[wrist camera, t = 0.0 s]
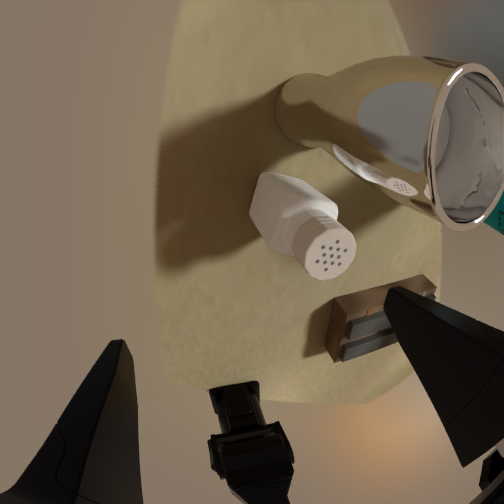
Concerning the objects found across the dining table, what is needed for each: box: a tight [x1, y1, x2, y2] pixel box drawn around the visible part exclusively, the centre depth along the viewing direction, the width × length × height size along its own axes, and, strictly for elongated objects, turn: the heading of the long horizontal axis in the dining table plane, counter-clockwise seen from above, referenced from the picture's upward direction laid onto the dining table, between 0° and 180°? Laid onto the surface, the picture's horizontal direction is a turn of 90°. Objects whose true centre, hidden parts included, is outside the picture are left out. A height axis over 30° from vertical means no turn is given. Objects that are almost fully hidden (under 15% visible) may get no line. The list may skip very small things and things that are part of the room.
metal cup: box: [275, 56, 504, 232], centre depth 13 cm, size 7×7×15 cm
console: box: [325, 274, 437, 363], centre depth 32 cm, size 14×8×4 cm, turn 92°
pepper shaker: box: [249, 171, 357, 281], centre depth 19 cm, size 4×4×10 cm
